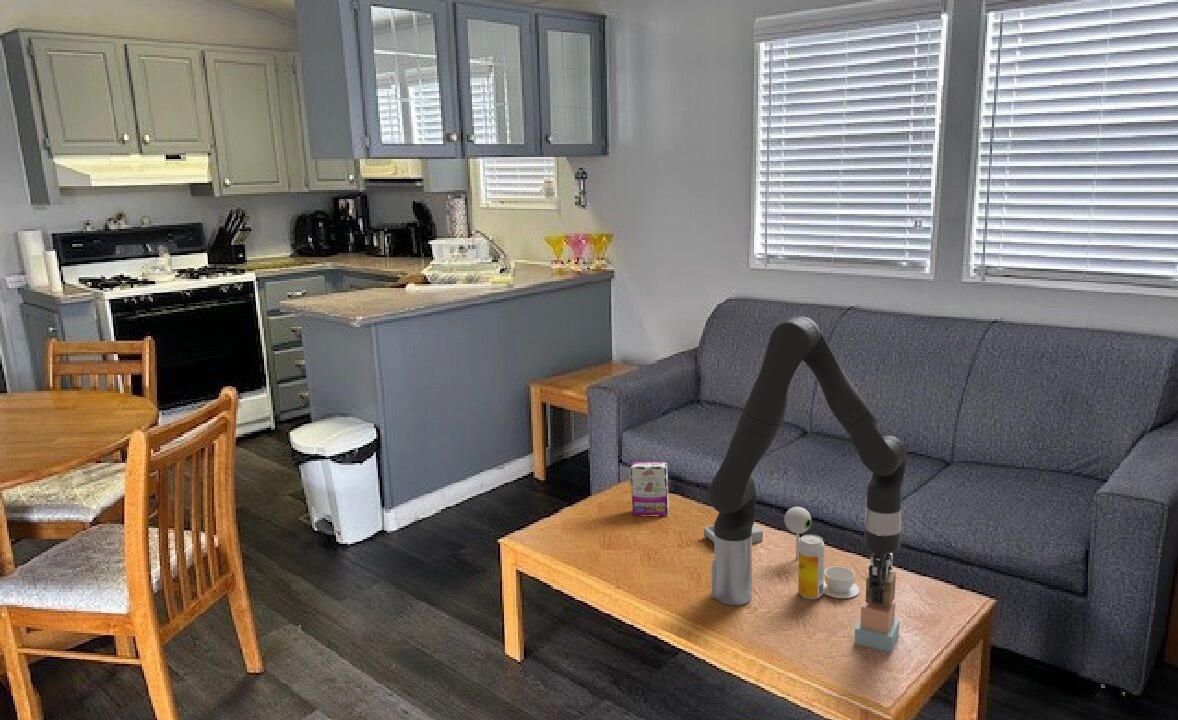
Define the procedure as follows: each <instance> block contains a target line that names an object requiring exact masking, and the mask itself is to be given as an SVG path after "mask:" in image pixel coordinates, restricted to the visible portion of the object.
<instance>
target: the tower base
mask: <svg viewBox="0 0 1178 720" xmlns="http://www.w3.org/2000/svg"><path fill="white" fill-rule="evenodd" d="M860 622H861V616H860V618H859V620H858V621H857V624H856V625H855V627H854V644H856V645H860V646H864V647H868V648H872V649H876V650H881V651H885V652H889V653H892V652H893V650H894V647H895V645H896V642H897V640H898V637H899V635H900V634H899V633H900V619H897V618H895V620H894V623H893V625H892V627H891V629H890V631H889V633H888V634H887V633H883V632H879V631H875V630H871V629H867V628H863V627H860Z"/></svg>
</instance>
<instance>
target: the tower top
mask: <svg viewBox="0 0 1178 720" xmlns="http://www.w3.org/2000/svg"><path fill="white" fill-rule="evenodd" d="M895 613H896V600H893V602H892V604H891V606H890V608H889V607H884V606H880V605H875V604H871V603H866V598H865V599H864V601H863V602H862V604H861V606H860V617H861V622H860V627H863V628H867V629H871V630H875V631H879V632H883V633H887V634H888V633H889V631H890V629H891V627H892V625H893V623H894V620H895V619H896V618H895V617H896V614H895Z"/></svg>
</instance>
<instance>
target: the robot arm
mask: <svg viewBox="0 0 1178 720" xmlns="http://www.w3.org/2000/svg"><path fill="white" fill-rule="evenodd" d="M802 361H803V362H804V364H805V365H806V366H807V367H808V368H809V369H810V371H811V372H812V373H813V375H814V377H815V378H816V380H817V382H818V384H819V386H820V388H821V390H822V394H823V397H824V399H825V401H826V403H827V405H828V407H829V409H830V412H831V413H832V414H833V415H834V417H835V418H836V420H837V421H838V422H839V424H840V425H841V427H843V429H844V430H845V432H846V433H847V434H848V435H849V438H850V439H851V442H852V444H853V447H854V448H855V450H856V453H857V454H858V456H859V458H860V460H861V462H862V464H863V465H864V467H866V468H867V469H868V470H869V471H870V472H871V473H872V476H871V478H870V481H869V482H868V486H867V490H866V507H865V514H864V533H863V534H864V536H863V537H864V538H863V539H864V540H863V543H864V546H865V548H866V549H868V550H870V551H871V552H873V553H872V554H871V555H870V560H869V563H870V565H869V566H868V574H869V588H870V589H872V602H873V603H876V604H882V602H883V588H884V580H885V579H886V578H887V574H888V572H889V571H890V572H891V571H892V570H893V560H894V559H893V557H894V553H895V552H898V551H899V550H900V548H901V539H902V538H901V537H902V536H901V535H902V533H901V532H902V512H901V511H902V510H901V509H902V507H901V505H902V504H901V503H902V485H903V481H904V476H905V471H906V467H907V466H906V465H907V450H906V447H905V445H904V443H903V442H902V440H900V439H899V438H898V437H897V436H893V435H885V436H882V434H881V432H880V429H878V425H879V420H878V417H877V416H876V414H875V413H874V411H873V410H872V409H871V407H870V406H869V405H868V403H867V401H865V400H864V398H863V397H862V396H861V394H860V392H858V390H857V389H856V387H855V386H854V385H853V384H852V382H851V381H850V378H849V377H848V376H847V374H846V373H845V371H844V370H843V368H842V367H841V365H840V363H839V361H838V360H837V358H836V357H835V355H834V353H833V351H832V350H831V348H830V346H829V343H828V342H827V340H826V338H825V336H824V334H823V333H822V330H821V329H820V327H819V326H818V324H817V323H816V322H815V321H814V320H812V319H811V318H809V317H807V316H801V315H800V316H794V317H791V318H789V319H786V320H783V321H782V322H780V323H779V324H777V325H776V326H775V328H773V330H772V332H771V334H770V336H769V340H768V343H767V347H766V350H765V355H764V358H763V360H762V365H761V368H760V370H759V373H758V376H757V378H756V380H755V382H754V384H753V386H752V388H751V391H750V393H749V396H748V398H747V401H746V403H745V405H744V406H743V409H742V411H741V415H740V416H739V419H738V422H737V425H736V428H735V430H734V433H733V435H732V438H731V440H730V443H729V446H728V450H727V452H726V455H725V457H724V459H723V461H722V462H721V463H722V464H721V465H720V467H719V469H718V470H717V472H716V474H715V475H714V478H713V479H712V481H711V483H710V485H709V489H708V499H709V503H710V504H711V507H712V508H713V509H714V510H715V511H716V512H717V513H718V515H717V516H716V519H715V521H714V523H713V524H714V525H713V526H714V542H713V544H714V550H713V551H714V553H713V554H714V556H713V557H714V559H713V561H712V562H711V566H710V567H711V598H713V599H715V600H716V601H717V602H719V603H721V604H725V605H727V606H742V605H743V606H744V605H746V604H747V603H749V602H750V601H752V597H753V594H752V593H753V543H752V527H753V524H754V525H755V519H756V503H757V502H756V501H757V491H756V490H757V488H756V483H755V480H754V478H753V477H752V474H753V472H754V470H755V468H756V466H757V465H758V463H759V462H760V461H761V459H762V458H763V457H764V456H765V454H766V452H767V451H768V449H769V448H770V446H771V445H772V443H774V440H775V438H776V436H777V434H778V432H779V430H780V427H781V425H782V423H783V420H784V419H785V418H784V417H785V414H786V412H787V411H786V410H787V403H788V391H789V386H790V384H791V382H792V380H793V377H794V375H795V373H796V371H797V369H798V367H799V366H800V364H801V362H802ZM882 572H883V573H884V574H883V575H882ZM876 582H878V583H876Z"/></svg>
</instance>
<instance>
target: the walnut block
mask: <svg viewBox="0 0 1178 720" xmlns="http://www.w3.org/2000/svg"><path fill="white" fill-rule="evenodd" d="M883 574H884V573H883V572H882V575H883ZM865 578H866V579H865V580H866V581H865V599H866V603H871V604H875V605H880V606H884V607H889V608H890V606H891V604H892V602H893V601H895V600H894V599H895V598H896V597H895V595H896V579H897V573H896V572H895V571H894V572H893V571H891V570H890V571H889V572H888V574H887V578H886V579H885V580H884V588H883V602H882V604H876V603H873V602H872V589H870V588H869V573H868V574H867V575H866V577H865ZM876 583H878V582H876Z"/></svg>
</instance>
